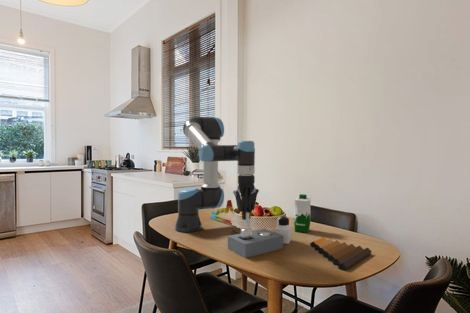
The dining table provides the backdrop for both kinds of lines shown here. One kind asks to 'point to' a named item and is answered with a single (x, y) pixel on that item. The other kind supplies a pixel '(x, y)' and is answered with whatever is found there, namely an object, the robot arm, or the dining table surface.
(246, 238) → the steel peg
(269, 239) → the peg block
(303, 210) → the milk carton
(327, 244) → the pan flute
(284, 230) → the medicine bottle
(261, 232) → the steel peg
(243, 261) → the dining table surface
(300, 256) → the dining table surface
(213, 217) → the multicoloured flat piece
